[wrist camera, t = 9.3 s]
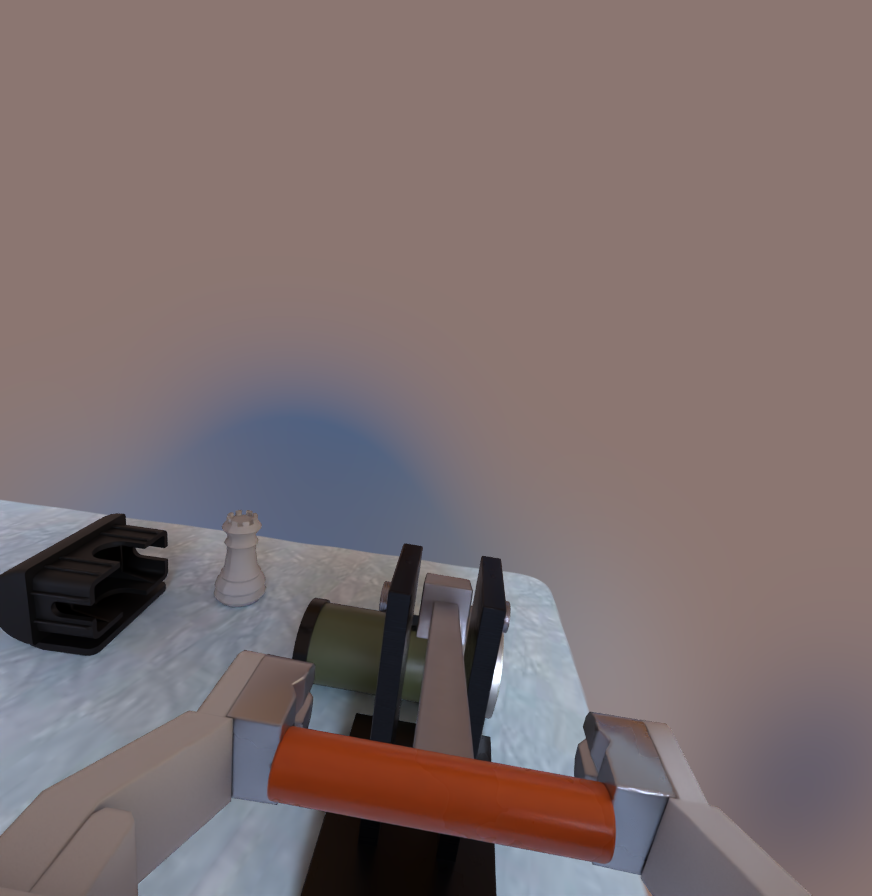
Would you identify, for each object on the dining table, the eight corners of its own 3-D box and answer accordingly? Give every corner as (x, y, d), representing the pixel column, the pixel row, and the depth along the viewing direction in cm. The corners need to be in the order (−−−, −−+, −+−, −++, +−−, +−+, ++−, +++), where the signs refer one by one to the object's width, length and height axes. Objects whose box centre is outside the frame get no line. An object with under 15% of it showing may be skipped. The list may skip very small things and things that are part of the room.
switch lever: (607, 930, 7) (625, 763, 7) (251, 861, 7) (281, 701, 8) (496, 634, 23) (503, 585, 23) (385, 615, 23) (394, 567, 23)
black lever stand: (494, 977, 20) (571, 677, 16) (292, 936, 20) (315, 633, 16) (487, 750, 31) (532, 535, 26) (354, 726, 31) (378, 511, 27)
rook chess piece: (242, 615, 40) (244, 532, 38) (202, 599, 41) (202, 518, 39) (275, 589, 44) (279, 513, 42) (238, 576, 45) (240, 501, 43)
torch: (486, 667, 38) (501, 592, 36) (489, 744, 31) (508, 655, 29) (319, 638, 39) (325, 562, 37) (285, 707, 32) (290, 618, 30)
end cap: (95, 574, 43) (91, 507, 41) (171, 585, 43) (170, 519, 41) (-9, 648, 33) (-21, 565, 31) (89, 662, 33) (83, 579, 31)
